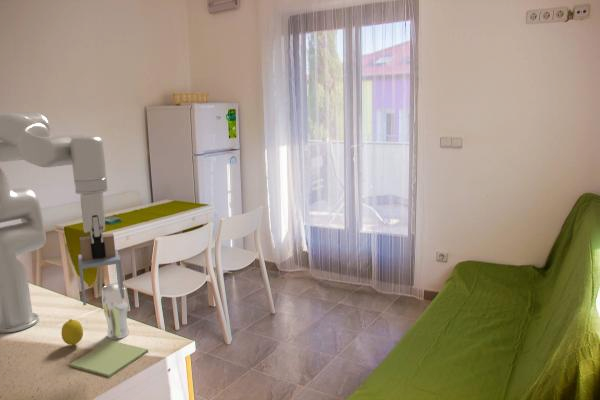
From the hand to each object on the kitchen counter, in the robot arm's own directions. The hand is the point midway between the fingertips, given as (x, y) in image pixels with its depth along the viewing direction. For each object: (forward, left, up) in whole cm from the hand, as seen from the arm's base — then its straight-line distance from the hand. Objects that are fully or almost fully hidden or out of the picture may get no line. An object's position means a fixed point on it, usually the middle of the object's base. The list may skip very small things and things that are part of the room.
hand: (98, 255), depth 125 cm
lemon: (-15, +1, -29) cm, 33 cm away
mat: (0, 0, -29) cm, 29 cm away
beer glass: (-8, +11, -29) cm, 33 cm away
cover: (0, 0, -11) cm, 11 cm away
